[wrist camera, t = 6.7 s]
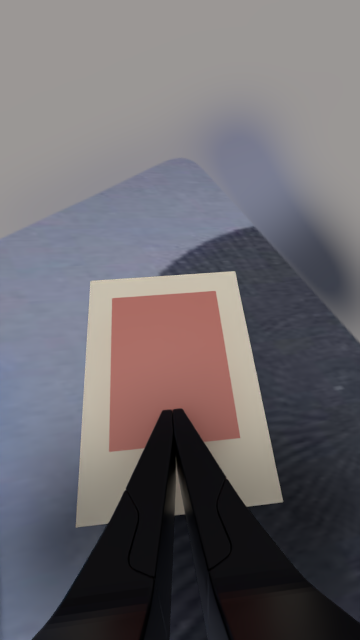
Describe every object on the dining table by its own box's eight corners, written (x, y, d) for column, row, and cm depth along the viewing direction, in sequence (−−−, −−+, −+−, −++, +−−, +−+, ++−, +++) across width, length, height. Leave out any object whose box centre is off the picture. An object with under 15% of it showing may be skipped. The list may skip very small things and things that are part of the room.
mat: (279, 499, 14) (283, 502, 13) (79, 523, 13) (75, 527, 13) (233, 274, 20) (235, 271, 19) (92, 284, 19) (90, 281, 18)
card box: (240, 438, 12) (215, 290, 15) (109, 452, 12) (112, 298, 15) (229, 433, 15) (210, 306, 18) (120, 444, 14) (120, 313, 18)
